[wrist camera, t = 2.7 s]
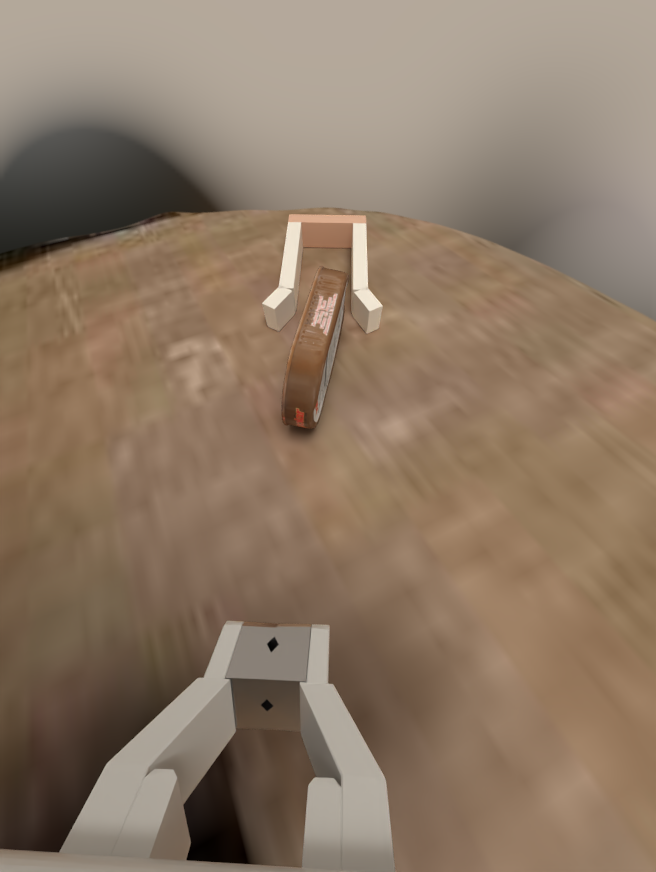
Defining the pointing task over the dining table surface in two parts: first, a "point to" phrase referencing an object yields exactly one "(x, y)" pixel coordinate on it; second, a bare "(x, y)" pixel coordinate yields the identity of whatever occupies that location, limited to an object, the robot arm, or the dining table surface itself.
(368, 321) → the guide channel
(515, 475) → the dining table surface
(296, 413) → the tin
